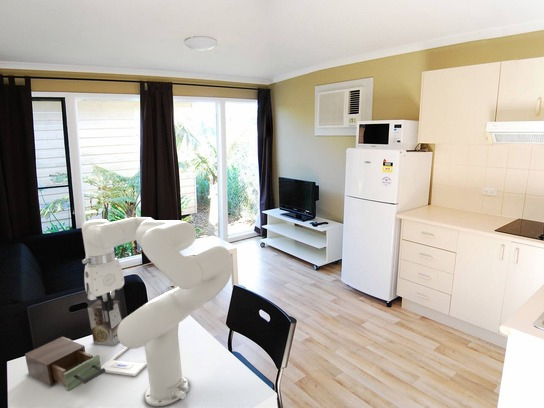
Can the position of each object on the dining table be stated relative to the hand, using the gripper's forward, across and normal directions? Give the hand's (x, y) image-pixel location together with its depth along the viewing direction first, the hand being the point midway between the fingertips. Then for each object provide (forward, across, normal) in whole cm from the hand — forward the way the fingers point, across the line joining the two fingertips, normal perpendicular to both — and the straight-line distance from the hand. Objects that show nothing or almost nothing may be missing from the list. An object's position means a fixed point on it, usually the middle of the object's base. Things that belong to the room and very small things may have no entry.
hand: (108, 309), depth 116 cm
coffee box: (+25, +12, +24) cm, 37 cm away
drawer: (+24, -7, +9) cm, 27 cm away
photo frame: (+25, +9, +4) cm, 27 cm away
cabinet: (+25, -7, +22) cm, 34 cm away
